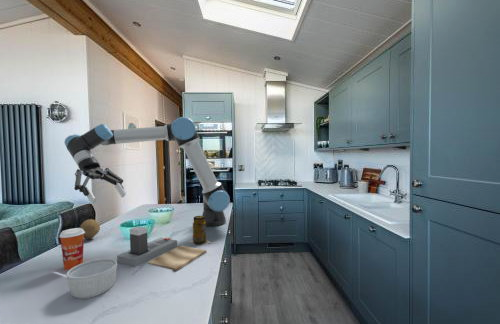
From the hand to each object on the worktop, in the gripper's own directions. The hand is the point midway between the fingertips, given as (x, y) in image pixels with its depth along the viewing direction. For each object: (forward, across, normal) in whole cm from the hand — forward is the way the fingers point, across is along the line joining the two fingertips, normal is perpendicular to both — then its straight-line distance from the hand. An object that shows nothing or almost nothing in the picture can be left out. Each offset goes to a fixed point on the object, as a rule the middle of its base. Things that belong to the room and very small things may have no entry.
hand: (109, 197), depth 102 cm
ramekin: (+32, +20, -2) cm, 38 cm away
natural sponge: (-2, -8, -37) cm, 38 cm away
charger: (+28, -1, -5) cm, 28 cm away
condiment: (+36, -26, +2) cm, 44 cm away
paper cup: (+17, +14, -18) cm, 28 cm away
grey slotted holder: (+28, -6, -5) cm, 29 cm away
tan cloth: (+38, -8, +5) cm, 39 cm away
